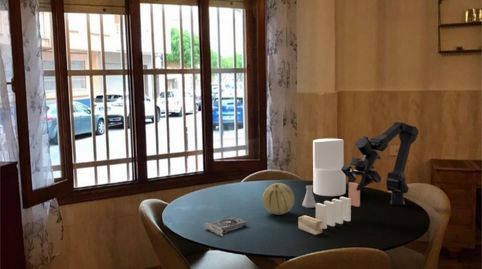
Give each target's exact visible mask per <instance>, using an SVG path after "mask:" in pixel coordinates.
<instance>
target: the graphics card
mask: <svg viewBox="0 0 482 269" xmlns="http://www.w3.org/2000/svg"><path fill="white" fill-rule="evenodd" d="M246 225H248V220H244V219H242V218H238V217H237V216H233V217H229V218H225V219H222V220H218V221H213V222H205V223H204V230H208V231H210V233H214V234H215V235H217V236H221V237H223V236H224V235H223V234H226V233H227V232H230V231H234V230H237V229H240V228H242V227H244V226H246Z"/></svg>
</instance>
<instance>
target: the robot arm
mask: <svg viewBox="0 0 482 269" xmlns="http://www.w3.org/2000/svg"><path fill="white" fill-rule="evenodd" d="M418 135H419V129H418V128H417V126H415V125H410V124H407V123H405V122H402V121H401V122H400V121H395V122H394V123H393V125H391V126H390V127H389V128H388V129H386V130H385V131H384V132H383V133H381V134H378V135H374V136H372V137H370V139H369V137H368V136H365V135H364V136H362V137H360V138H358V139H357V140H356V141H355V143H354V146H355V148H356V149H357V150H358V151H359V153H360V154H361V155H362V158H359V157H353V156H352V157H351V158H350V162H349V165H346V164H345V165H344V166H343V167H342V169H341V170H342V171H343V173H344V174H345V175H346V178H347V182H346V183H347V184H346V189H348V190H349V183H350V182H353V183H356V181H357V178H356V176H361V179H360V181H359V183H358V184H359V185H358V186H357V189H356V190H357V191H359V190H360V191H361V190H362V189H363V188H365V187H367V186H368V185H370V184H374V183H377V184H380V182H381V181H382V176H381V175H380V173H378V171H377V170H374V169H375V166H374V164H375V162H377V160H381V155H380V153H378V152H384V151H386V149H387V148H388V147H389V143H390V141H392V140H393V139H394V138H395V137H397V136H398V138H399V140H400V142H399V148H398V151H397V155H396V159H395V161H394V166H393V170H391V172H390V171H389V172H388V173H387V177H386V178H385V180H386V181H385V185H386V188H387V191H390V192H391V200H389V201H390V202H389V203H390V205H391V206H392V205H393V206H406V203H405V200H404V198H405V196H404V194H407V193H409V190H410V187H409V186H408V184H406V181H407V180H406V175H405V173H404V172H405V171H406V170H405V169H406V165H407V162H408V161H407V160H408V159H409V158H408V157H409V153H410V149H411V146H412V144H414V142H415V141H416V139H417V137H418ZM350 165H351V166H350ZM352 166H353V168H354V169H353V168H352Z"/></svg>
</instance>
